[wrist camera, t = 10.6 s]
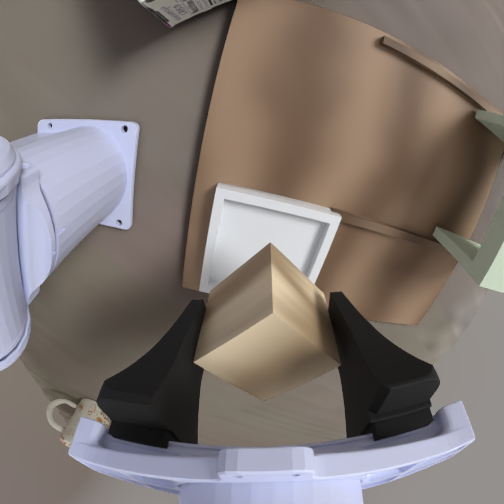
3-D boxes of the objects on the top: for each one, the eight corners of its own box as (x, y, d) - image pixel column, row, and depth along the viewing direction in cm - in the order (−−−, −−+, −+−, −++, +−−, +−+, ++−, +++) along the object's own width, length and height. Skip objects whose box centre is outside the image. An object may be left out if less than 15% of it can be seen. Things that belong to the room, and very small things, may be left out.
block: (210, 290, 15) (193, 362, 11) (270, 242, 14) (272, 312, 9) (265, 331, 17) (264, 400, 13) (323, 293, 15) (341, 365, 11)
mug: (115, 421, 41) (103, 463, 32) (59, 394, 38) (43, 433, 30) (117, 408, 37) (103, 457, 28) (54, 377, 34) (34, 421, 26)
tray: (201, 281, 21) (198, 291, 20) (219, 182, 17) (216, 187, 16) (300, 300, 22) (302, 310, 21) (337, 210, 18) (341, 217, 17)
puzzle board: (184, 281, 22) (180, 292, 21) (242, -7, 11) (240, -14, 10) (414, 320, 24) (419, 329, 23) (504, 120, 13) (515, 123, 12)
